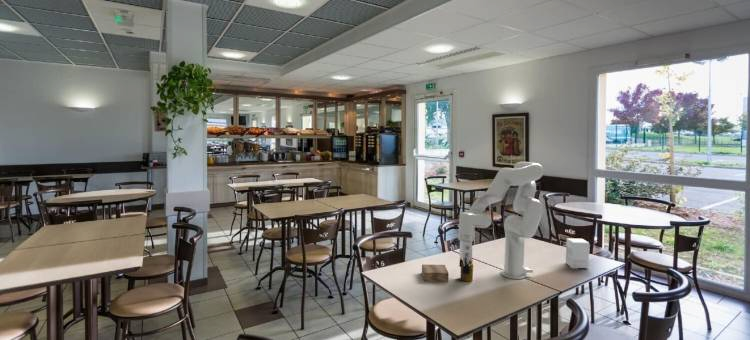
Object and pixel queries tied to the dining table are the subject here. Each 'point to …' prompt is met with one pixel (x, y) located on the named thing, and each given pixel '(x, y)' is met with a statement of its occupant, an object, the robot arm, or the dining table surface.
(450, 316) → the dining table surface
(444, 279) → the riser
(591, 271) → the dining table surface
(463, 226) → the robot arm
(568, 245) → the supplement box
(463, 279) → the condiment
